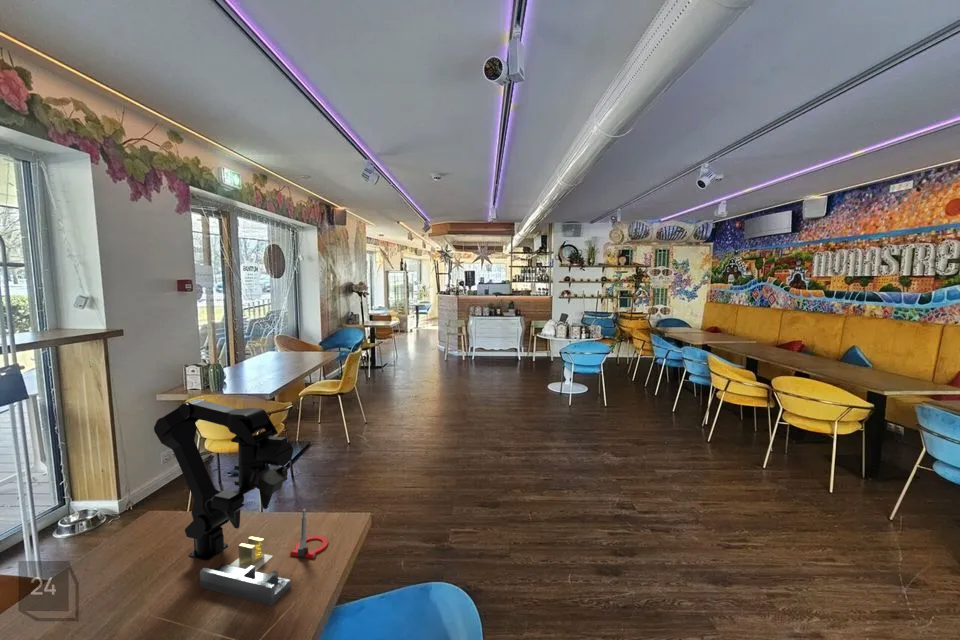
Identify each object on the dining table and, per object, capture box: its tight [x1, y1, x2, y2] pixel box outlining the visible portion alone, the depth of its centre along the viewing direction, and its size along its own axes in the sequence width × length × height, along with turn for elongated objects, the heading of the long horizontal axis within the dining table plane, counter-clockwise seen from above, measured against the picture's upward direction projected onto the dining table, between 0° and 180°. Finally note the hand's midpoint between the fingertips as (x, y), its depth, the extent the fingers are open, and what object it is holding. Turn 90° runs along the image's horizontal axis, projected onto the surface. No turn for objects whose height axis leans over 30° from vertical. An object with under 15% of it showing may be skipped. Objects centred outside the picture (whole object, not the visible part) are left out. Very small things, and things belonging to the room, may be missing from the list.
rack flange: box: [199, 563, 292, 607], centre depth 95 cm, size 20×6×4 cm, turn 76°
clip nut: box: [238, 535, 265, 566], centre depth 104 cm, size 4×4×5 cm
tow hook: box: [289, 508, 329, 560], centre depth 110 cm, size 8×13×9 cm
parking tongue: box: [229, 553, 274, 572], centre depth 104 cm, size 8×6×1 cm
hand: (251, 517), depth 103 cm, fingers open, 9 cm apart
